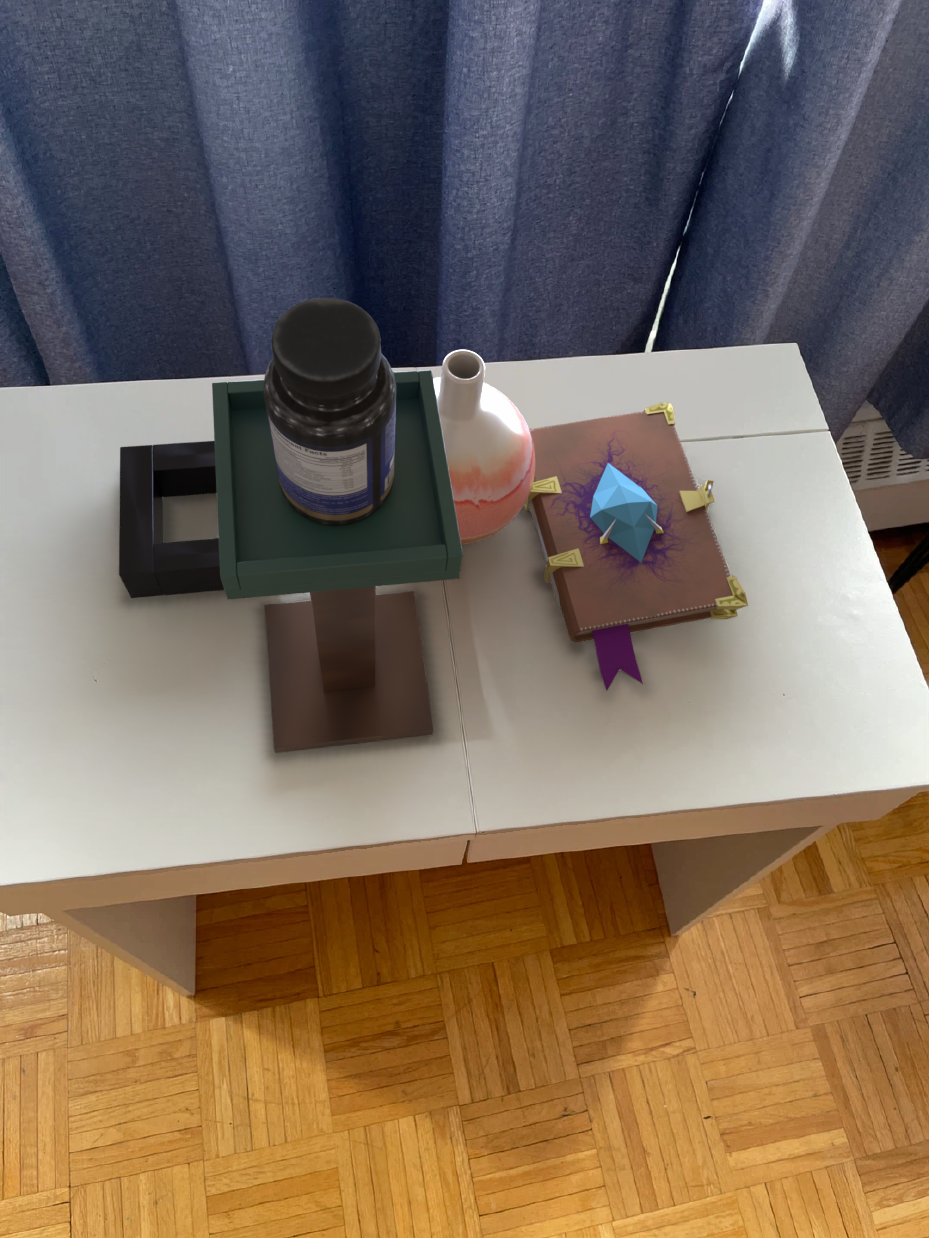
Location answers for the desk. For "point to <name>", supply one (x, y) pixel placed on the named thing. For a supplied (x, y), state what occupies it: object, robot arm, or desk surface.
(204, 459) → the holder
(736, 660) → the desk surface
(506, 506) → the vase
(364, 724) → the stand
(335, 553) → the tray
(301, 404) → the pill bottle
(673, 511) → the book
